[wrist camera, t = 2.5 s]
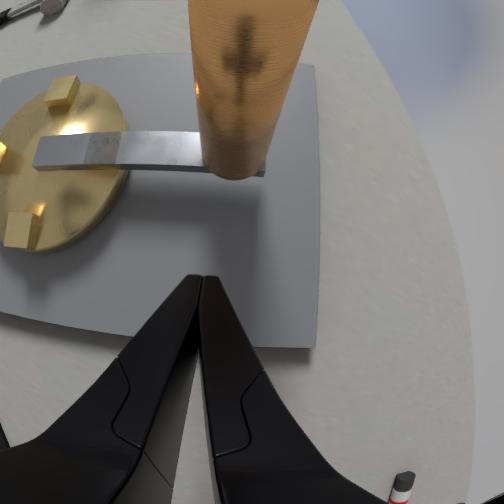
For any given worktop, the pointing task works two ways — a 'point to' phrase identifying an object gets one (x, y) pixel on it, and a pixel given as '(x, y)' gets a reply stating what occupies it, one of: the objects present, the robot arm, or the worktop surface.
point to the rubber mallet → (50, 4)
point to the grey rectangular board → (182, 217)
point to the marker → (402, 488)
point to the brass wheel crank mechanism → (149, 142)
